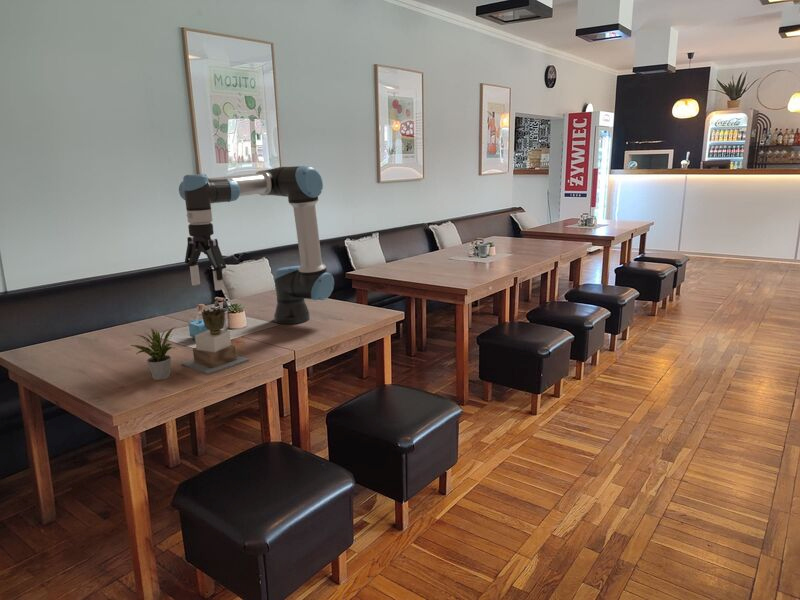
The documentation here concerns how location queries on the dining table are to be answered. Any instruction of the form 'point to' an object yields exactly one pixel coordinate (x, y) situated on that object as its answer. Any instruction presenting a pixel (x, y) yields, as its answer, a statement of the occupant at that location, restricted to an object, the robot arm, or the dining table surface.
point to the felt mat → (212, 370)
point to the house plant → (157, 355)
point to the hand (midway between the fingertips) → (207, 287)
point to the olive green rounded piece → (214, 320)
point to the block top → (212, 341)
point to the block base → (215, 357)
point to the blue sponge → (196, 327)
